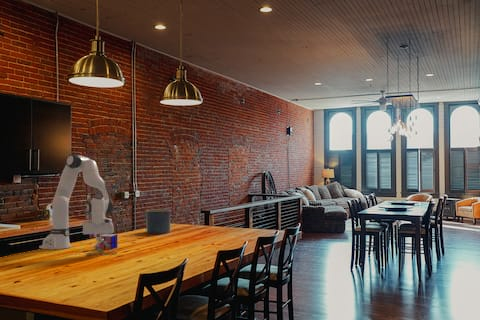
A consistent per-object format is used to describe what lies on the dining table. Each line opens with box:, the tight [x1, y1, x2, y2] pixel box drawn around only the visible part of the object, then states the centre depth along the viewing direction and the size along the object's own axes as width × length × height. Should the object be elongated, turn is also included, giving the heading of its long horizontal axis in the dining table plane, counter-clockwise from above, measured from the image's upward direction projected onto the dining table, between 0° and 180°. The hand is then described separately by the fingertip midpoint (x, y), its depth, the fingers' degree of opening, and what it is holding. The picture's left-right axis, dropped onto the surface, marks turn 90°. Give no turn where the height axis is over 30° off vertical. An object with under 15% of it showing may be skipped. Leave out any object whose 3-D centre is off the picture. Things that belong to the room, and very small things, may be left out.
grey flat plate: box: [85, 251, 118, 257], centre depth 304 cm, size 20×12×1 cm, turn 102°
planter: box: [145, 208, 172, 235], centre depth 405 cm, size 22×22×20 cm
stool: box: [93, 238, 110, 255], centre depth 304 cm, size 7×7×7 cm
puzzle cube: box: [98, 233, 118, 251], centre depth 325 cm, size 10×10×10 cm
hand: (98, 240), depth 304 cm, fingers closed
